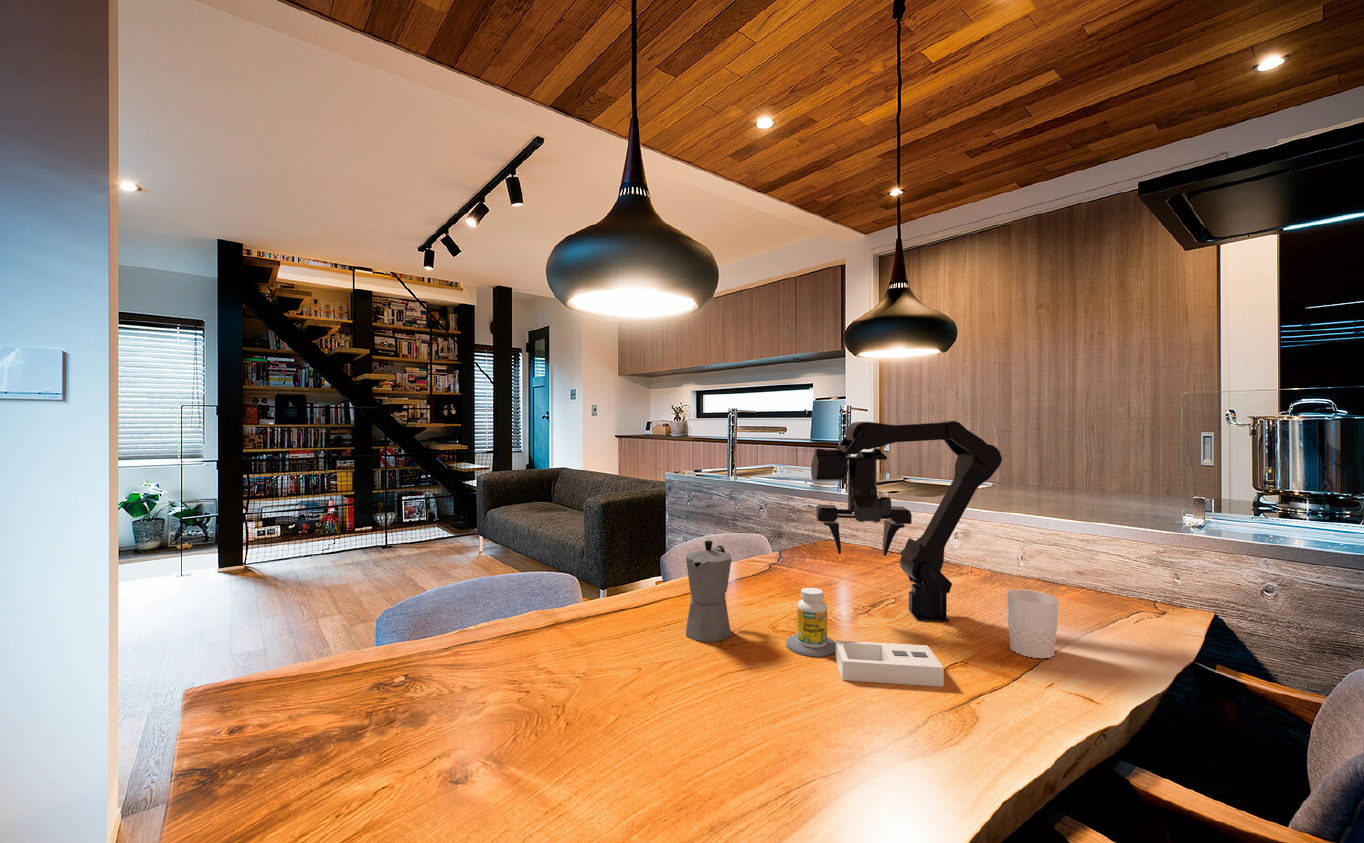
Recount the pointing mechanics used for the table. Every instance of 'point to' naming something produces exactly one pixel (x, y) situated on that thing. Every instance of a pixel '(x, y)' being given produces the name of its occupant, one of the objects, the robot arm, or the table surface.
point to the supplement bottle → (812, 618)
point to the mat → (807, 651)
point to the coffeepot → (708, 594)
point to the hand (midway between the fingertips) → (861, 554)
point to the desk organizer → (888, 663)
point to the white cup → (1032, 622)
